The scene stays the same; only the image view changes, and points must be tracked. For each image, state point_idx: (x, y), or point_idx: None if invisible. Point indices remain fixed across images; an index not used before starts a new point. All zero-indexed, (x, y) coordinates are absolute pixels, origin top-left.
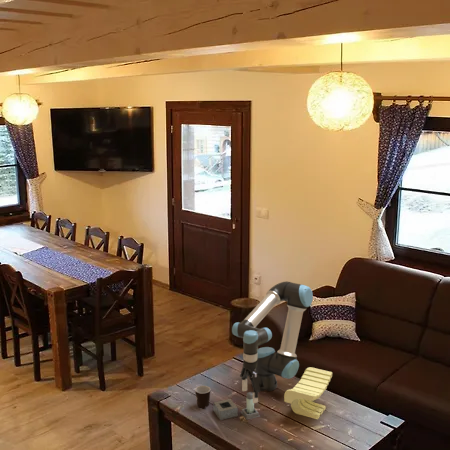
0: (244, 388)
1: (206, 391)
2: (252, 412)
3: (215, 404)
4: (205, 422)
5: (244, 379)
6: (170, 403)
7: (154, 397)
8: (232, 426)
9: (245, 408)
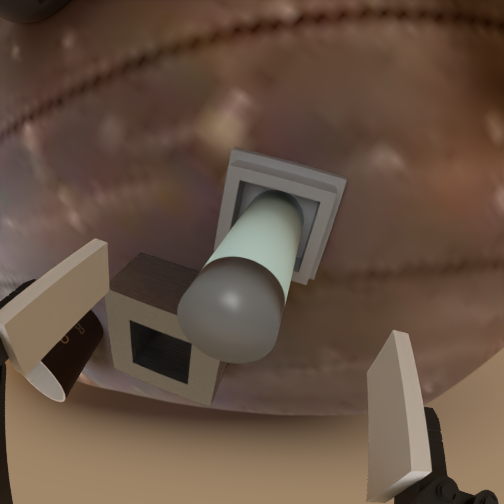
0: (89, 289)
1: None
2: (301, 229)
3: (134, 375)
4: None
5: (3, 346)
6: None
7: None
8: (301, 353)
9: (220, 233)
